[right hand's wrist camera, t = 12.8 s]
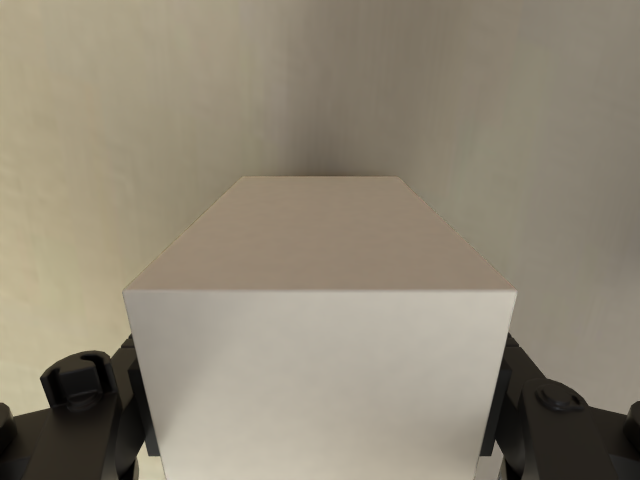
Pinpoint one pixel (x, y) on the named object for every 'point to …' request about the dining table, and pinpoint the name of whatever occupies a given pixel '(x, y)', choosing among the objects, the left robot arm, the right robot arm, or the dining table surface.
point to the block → (319, 336)
